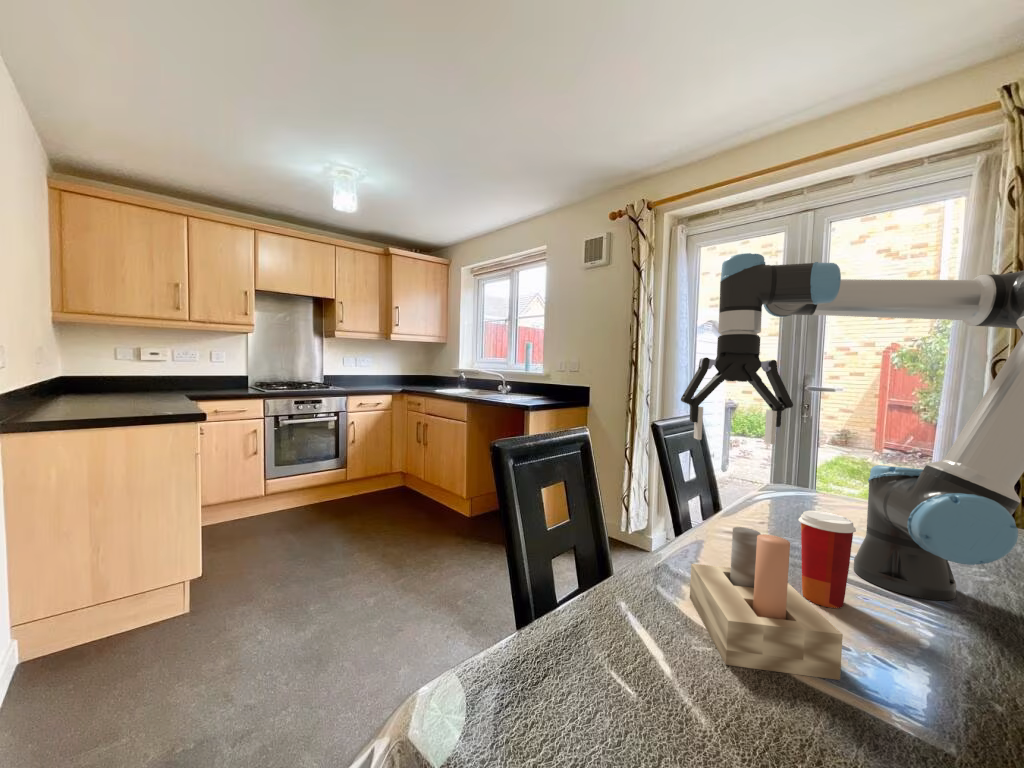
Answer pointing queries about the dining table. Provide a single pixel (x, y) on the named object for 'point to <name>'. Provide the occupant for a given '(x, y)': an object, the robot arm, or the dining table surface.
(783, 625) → the bore block
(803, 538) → the coffee cup
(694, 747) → the dining table surface
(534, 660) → the dining table surface
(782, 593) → the dowel
